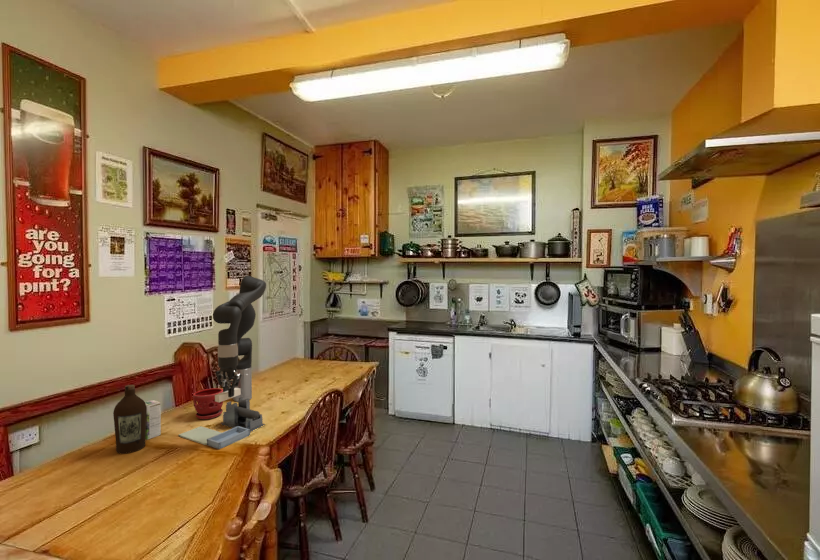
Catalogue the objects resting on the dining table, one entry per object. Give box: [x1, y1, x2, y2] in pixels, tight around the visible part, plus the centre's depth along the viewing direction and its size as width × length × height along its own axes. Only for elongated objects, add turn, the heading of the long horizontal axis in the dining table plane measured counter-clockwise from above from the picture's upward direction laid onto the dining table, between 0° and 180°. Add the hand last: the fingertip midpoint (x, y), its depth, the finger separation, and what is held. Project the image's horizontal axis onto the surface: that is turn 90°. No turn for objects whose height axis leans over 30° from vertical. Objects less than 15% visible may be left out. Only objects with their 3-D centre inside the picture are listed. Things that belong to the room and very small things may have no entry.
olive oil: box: [112, 384, 147, 454], centre depth 151 cm, size 11×11×25 cm
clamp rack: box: [220, 397, 266, 433], centre depth 174 cm, size 19×8×11 cm, turn 62°
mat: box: [177, 425, 223, 446], centre depth 163 cm, size 18×10×1 cm, turn 62°
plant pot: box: [192, 387, 224, 420], centre depth 185 cm, size 13×13×12 cm
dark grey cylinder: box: [238, 407, 261, 420], centre depth 174 cm, size 18×4×4 cm, turn 62°
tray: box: [206, 426, 251, 450], centre depth 159 cm, size 8×15×2 cm, turn 152°
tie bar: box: [215, 388, 241, 402], centre depth 158 cm, size 3×10×3 cm, turn 152°
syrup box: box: [144, 399, 162, 440], centre depth 163 cm, size 6×6×14 cm
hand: (228, 396), depth 159 cm, fingers closed on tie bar, 2 cm apart
